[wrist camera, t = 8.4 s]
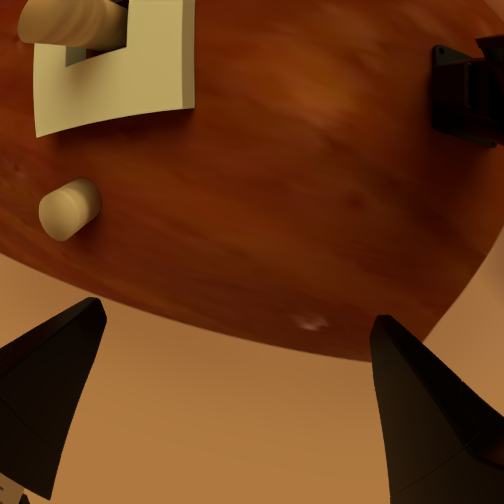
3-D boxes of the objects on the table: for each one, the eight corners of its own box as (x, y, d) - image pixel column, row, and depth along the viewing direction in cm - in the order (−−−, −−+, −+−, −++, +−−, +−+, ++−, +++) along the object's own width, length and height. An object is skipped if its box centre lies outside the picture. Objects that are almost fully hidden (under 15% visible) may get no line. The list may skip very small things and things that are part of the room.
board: (198, -60, 9) (189, -75, 7) (194, 108, 16) (182, 108, 14) (62, -14, 10) (44, -19, 8) (56, 131, 17) (36, 137, 15)
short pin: (97, 176, 19) (66, 192, 15) (105, 218, 21) (78, 241, 17) (65, 179, 19) (34, 196, 16) (73, 219, 21) (45, 240, 17)
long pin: (136, 45, 14) (61, 27, 7) (94, 57, 14) (15, 52, 7) (138, 3, 12) (70, -30, 5) (96, 17, 13) (22, -1, 6)
